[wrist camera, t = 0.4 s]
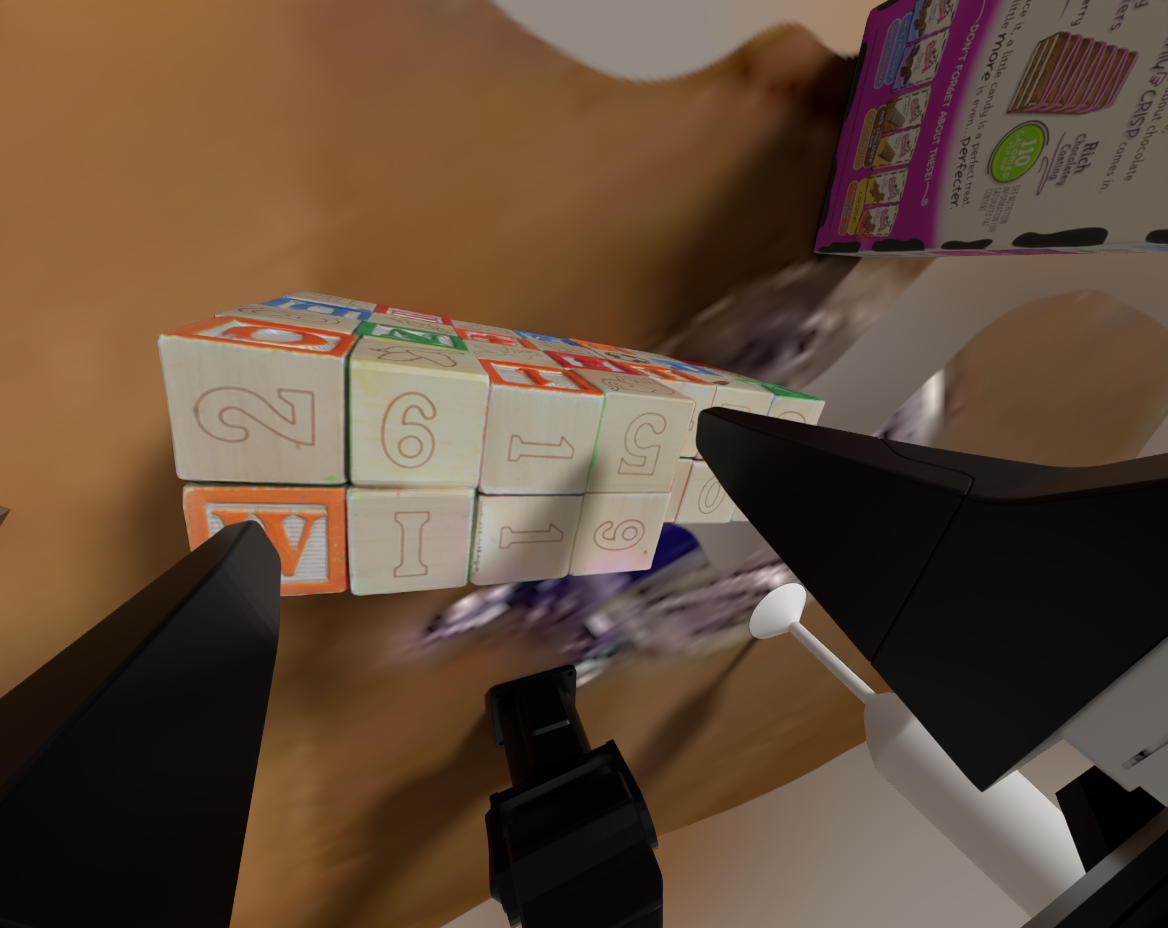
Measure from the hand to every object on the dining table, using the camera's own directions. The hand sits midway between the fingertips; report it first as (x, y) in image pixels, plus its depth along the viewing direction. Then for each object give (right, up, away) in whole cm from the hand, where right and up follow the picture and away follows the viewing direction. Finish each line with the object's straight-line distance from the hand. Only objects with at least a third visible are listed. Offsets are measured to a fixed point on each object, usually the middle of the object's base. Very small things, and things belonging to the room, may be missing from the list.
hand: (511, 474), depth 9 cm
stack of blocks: (-1, +4, +15) cm, 15 cm away
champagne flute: (+20, -14, +32) cm, 40 cm away
